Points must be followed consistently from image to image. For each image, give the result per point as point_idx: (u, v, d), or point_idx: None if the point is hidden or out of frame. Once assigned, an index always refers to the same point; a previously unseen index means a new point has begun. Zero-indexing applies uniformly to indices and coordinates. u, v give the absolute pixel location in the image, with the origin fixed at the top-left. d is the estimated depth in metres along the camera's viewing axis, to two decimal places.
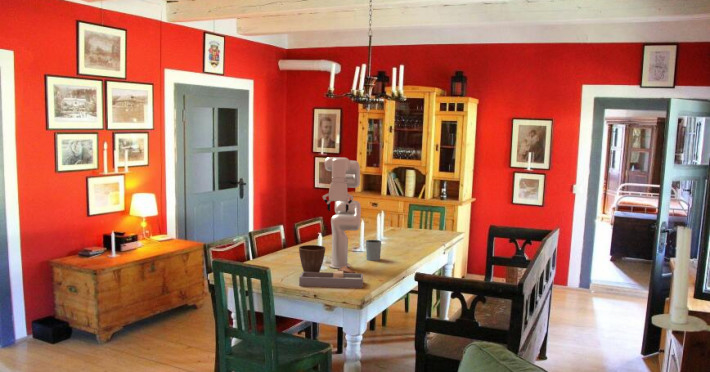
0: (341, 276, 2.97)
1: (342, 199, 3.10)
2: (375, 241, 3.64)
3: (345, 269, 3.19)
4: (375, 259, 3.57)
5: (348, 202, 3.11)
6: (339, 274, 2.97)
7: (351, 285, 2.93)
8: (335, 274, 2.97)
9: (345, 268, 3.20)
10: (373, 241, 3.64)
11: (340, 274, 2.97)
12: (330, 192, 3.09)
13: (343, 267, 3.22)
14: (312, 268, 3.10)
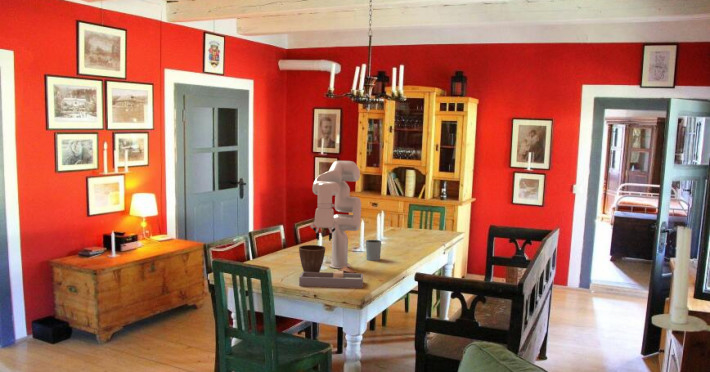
0: (341, 276, 2.97)
1: (328, 226, 2.95)
2: (375, 241, 3.64)
3: (346, 269, 3.19)
4: (375, 259, 3.57)
5: (332, 231, 2.96)
6: (339, 274, 2.97)
7: (351, 285, 2.93)
8: (335, 274, 2.97)
9: (346, 268, 3.20)
10: (373, 241, 3.64)
11: (340, 274, 2.97)
12: (316, 218, 2.95)
13: (344, 267, 3.22)
14: (312, 268, 3.10)
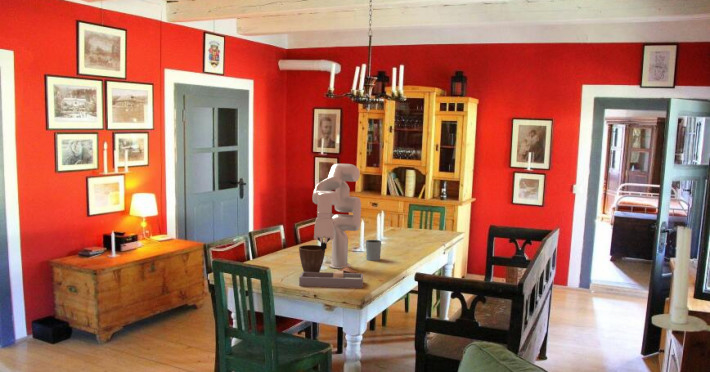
0: (341, 276, 2.97)
1: (328, 235, 2.95)
2: (375, 241, 3.64)
3: (347, 269, 3.19)
4: (375, 259, 3.57)
5: (327, 241, 2.97)
6: (339, 274, 2.97)
7: (351, 285, 2.93)
8: (335, 274, 2.97)
9: (347, 268, 3.20)
10: (373, 241, 3.64)
11: (340, 274, 2.97)
12: (315, 228, 2.95)
13: (345, 267, 3.22)
14: (312, 268, 3.10)
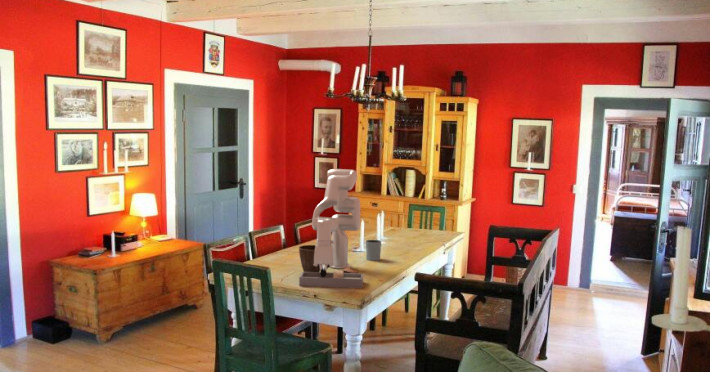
0: (341, 276, 2.97)
1: (328, 262, 2.97)
2: (375, 241, 3.64)
3: (348, 269, 3.18)
4: (375, 259, 3.57)
5: None
6: (339, 274, 2.97)
7: (351, 285, 2.93)
8: (335, 274, 2.97)
9: (348, 268, 3.20)
10: (373, 241, 3.64)
11: (340, 274, 2.97)
12: (315, 255, 2.97)
13: (346, 267, 3.21)
14: (312, 268, 3.10)
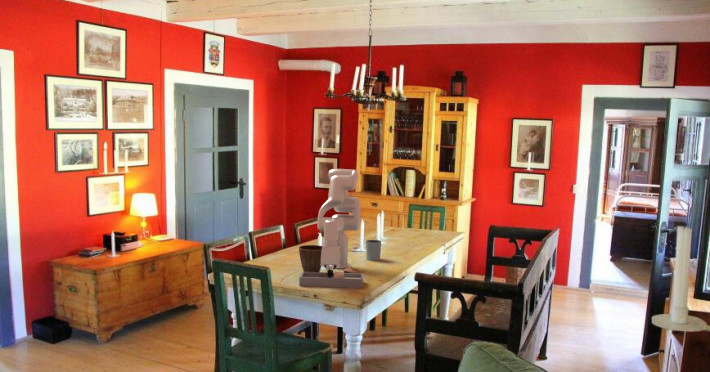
0: (342, 276, 2.97)
1: (334, 263, 2.97)
2: (375, 241, 3.64)
3: (349, 270, 3.18)
4: (375, 259, 3.57)
5: (333, 268, 2.98)
6: (340, 274, 2.97)
7: (351, 285, 2.93)
8: (336, 274, 2.97)
9: (349, 269, 3.20)
10: (373, 241, 3.64)
11: (341, 274, 2.97)
12: (322, 255, 2.97)
13: (347, 268, 3.21)
14: (312, 268, 3.10)
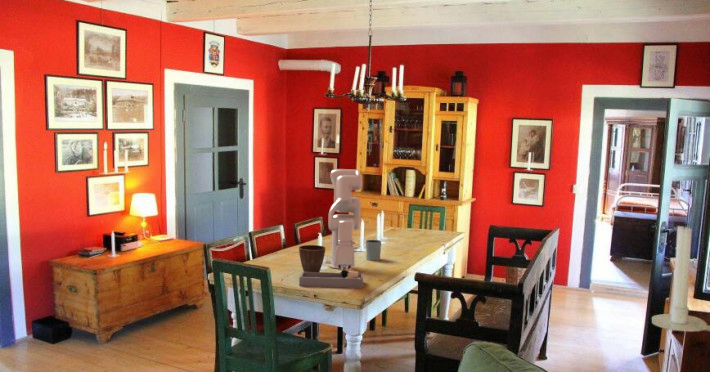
0: (356, 277, 2.96)
1: (349, 263, 2.96)
2: (375, 241, 3.64)
3: (350, 270, 3.18)
4: (375, 259, 3.57)
5: (347, 269, 2.98)
6: (354, 275, 2.96)
7: (351, 285, 2.93)
8: (350, 275, 2.96)
9: (350, 269, 3.19)
10: (373, 241, 3.64)
11: (355, 275, 2.96)
12: (336, 256, 2.96)
13: None
14: (312, 268, 3.10)
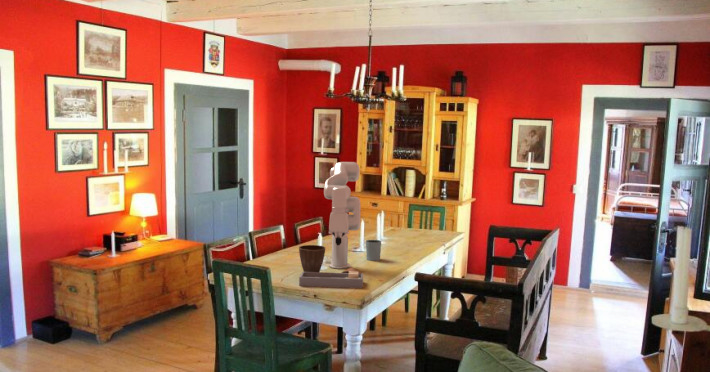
0: (356, 277, 2.96)
1: (343, 230, 2.95)
2: (375, 241, 3.64)
3: (352, 270, 3.17)
4: (375, 259, 3.57)
5: (342, 236, 2.97)
6: (354, 275, 2.96)
7: (351, 285, 2.93)
8: (350, 275, 2.96)
9: (352, 269, 3.19)
10: (373, 241, 3.64)
11: (355, 275, 2.96)
12: (330, 223, 2.95)
13: (350, 268, 3.20)
14: (312, 268, 3.10)
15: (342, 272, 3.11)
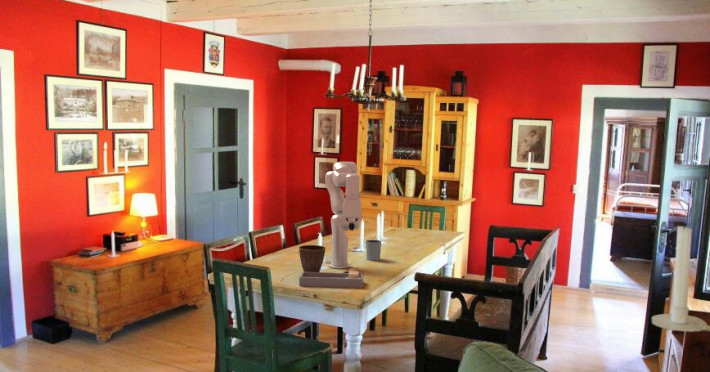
0: (356, 277, 2.96)
1: (356, 216, 3.06)
2: (375, 241, 3.64)
3: (353, 270, 3.17)
4: (375, 259, 3.57)
5: (355, 221, 3.08)
6: (354, 275, 2.96)
7: (351, 285, 2.93)
8: (350, 275, 2.96)
9: (353, 269, 3.18)
10: (373, 241, 3.64)
11: (355, 275, 2.96)
12: (344, 209, 3.06)
13: (351, 268, 3.20)
14: (312, 268, 3.10)
15: (344, 272, 3.10)
